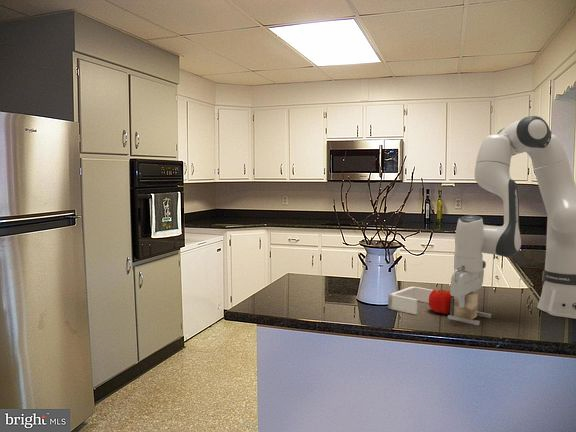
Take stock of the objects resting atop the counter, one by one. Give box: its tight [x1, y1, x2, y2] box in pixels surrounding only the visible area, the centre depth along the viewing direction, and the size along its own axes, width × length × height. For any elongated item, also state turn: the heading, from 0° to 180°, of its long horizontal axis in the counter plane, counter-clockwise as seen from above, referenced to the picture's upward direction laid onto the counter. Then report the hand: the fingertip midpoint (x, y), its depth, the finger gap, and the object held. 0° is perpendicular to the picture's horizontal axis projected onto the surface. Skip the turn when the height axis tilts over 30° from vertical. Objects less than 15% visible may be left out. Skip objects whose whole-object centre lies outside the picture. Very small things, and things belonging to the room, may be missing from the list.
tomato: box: [428, 288, 454, 315], centre depth 166 cm, size 9×9×8 cm
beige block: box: [449, 292, 479, 320], centre depth 161 cm, size 7×7×8 cm
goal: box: [387, 286, 434, 315], centre depth 173 cm, size 10×18×5 cm, turn 139°
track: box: [447, 310, 492, 326], centre depth 160 cm, size 10×12×1 cm
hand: (465, 305), depth 160 cm, fingers closed on beige block, 5 cm apart
